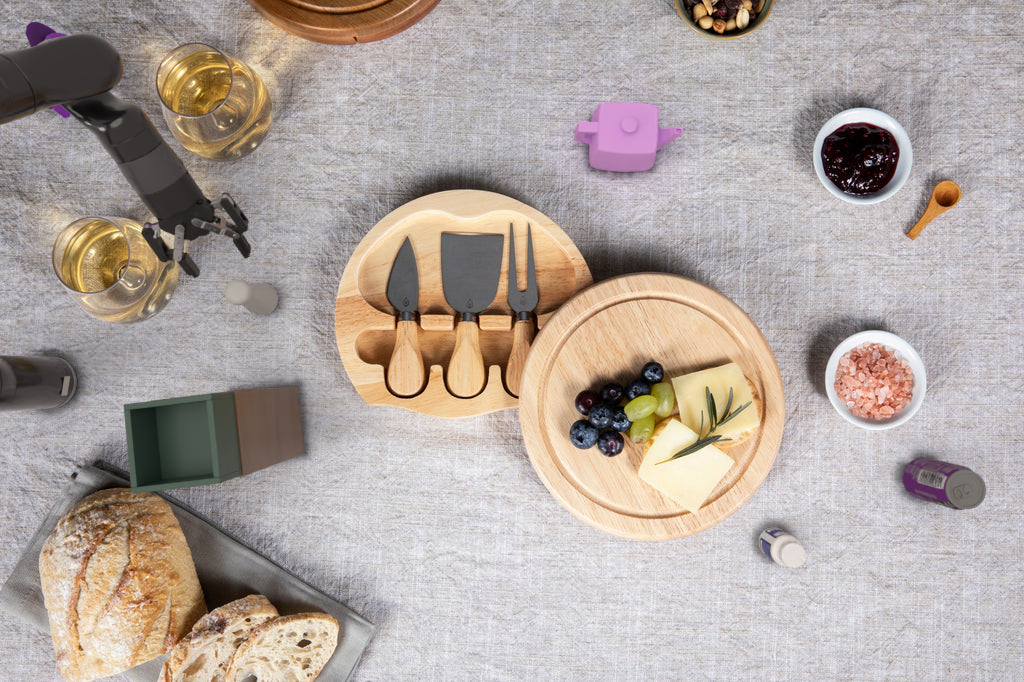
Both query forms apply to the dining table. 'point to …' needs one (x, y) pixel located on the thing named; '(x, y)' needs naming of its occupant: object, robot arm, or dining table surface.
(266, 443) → the stand
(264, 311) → the salt shaker
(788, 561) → the pill bottle
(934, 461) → the beverage can
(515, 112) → the dining table surface
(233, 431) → the bin
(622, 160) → the teapot
